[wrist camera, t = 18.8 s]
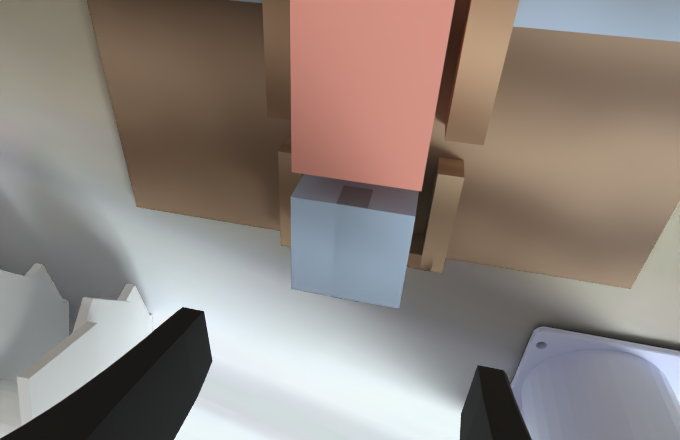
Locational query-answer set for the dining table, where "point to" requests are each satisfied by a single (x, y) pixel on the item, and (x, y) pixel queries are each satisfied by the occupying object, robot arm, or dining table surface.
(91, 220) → the dining table surface
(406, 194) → the pale blue patched block
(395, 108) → the salmon pink rectangular block
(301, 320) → the dining table surface
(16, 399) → the spiral staircase
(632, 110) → the jig
